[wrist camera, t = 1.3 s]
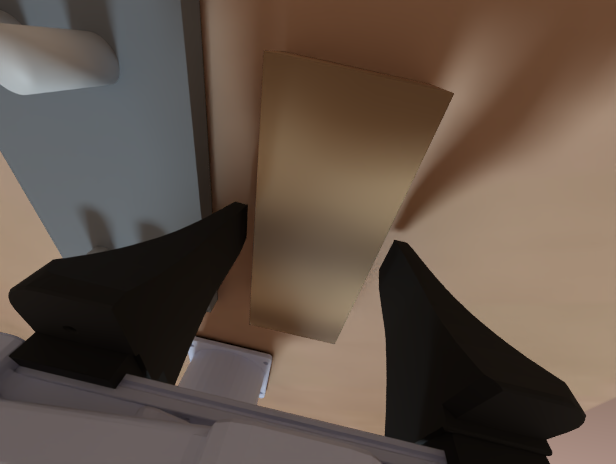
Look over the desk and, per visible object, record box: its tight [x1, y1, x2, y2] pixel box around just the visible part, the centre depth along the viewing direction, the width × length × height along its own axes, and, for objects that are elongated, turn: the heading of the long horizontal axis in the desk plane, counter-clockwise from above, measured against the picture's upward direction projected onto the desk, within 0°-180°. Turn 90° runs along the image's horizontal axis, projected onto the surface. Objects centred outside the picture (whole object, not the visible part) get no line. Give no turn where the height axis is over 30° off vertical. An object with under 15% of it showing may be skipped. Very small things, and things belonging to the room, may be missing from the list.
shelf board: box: [249, 51, 454, 344], centre depth 12 cm, size 14×6×3 cm, turn 170°
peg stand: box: [0, 0, 218, 312], centre depth 11 cm, size 18×10×4 cm, turn 169°
